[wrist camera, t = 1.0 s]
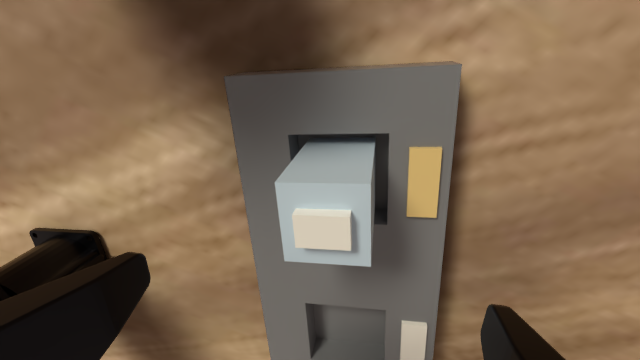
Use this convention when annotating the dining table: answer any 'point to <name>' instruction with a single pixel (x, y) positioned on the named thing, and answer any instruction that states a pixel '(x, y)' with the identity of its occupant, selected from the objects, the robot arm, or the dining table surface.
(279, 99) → the panel
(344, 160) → the plug
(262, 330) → the dining table surface
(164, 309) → the dining table surface
